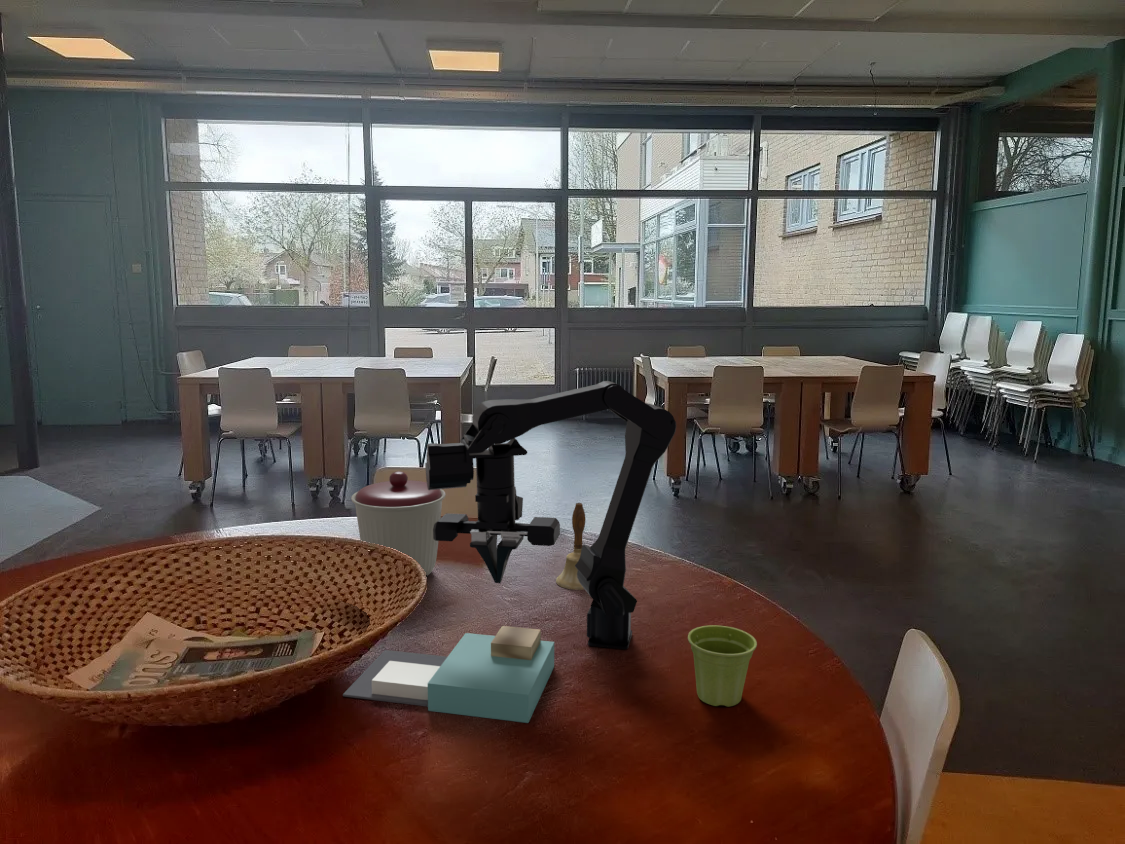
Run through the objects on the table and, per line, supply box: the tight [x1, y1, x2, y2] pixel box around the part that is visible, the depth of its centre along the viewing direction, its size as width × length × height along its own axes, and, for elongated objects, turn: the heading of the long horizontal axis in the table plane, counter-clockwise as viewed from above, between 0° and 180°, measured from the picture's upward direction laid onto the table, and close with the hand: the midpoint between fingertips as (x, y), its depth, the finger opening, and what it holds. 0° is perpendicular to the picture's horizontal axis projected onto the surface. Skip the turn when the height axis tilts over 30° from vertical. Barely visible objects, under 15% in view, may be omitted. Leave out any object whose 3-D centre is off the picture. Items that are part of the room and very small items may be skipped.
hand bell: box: [555, 502, 586, 591], centre depth 152 cm, size 8×8×16 cm
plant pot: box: [687, 624, 758, 707], centre depth 110 cm, size 9×9×9 cm
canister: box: [350, 470, 446, 577], centre depth 154 cm, size 18×18×21 cm
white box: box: [372, 661, 440, 700], centre depth 112 cm, size 9×6×2 cm, turn 78°
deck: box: [427, 632, 555, 724], centre depth 112 cm, size 14×16×4 cm
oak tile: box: [491, 625, 542, 660], centre depth 115 cm, size 6×6×2 cm
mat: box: [342, 649, 448, 707], centre depth 115 cm, size 13×14×1 cm
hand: (498, 582), depth 121 cm, fingers closed
